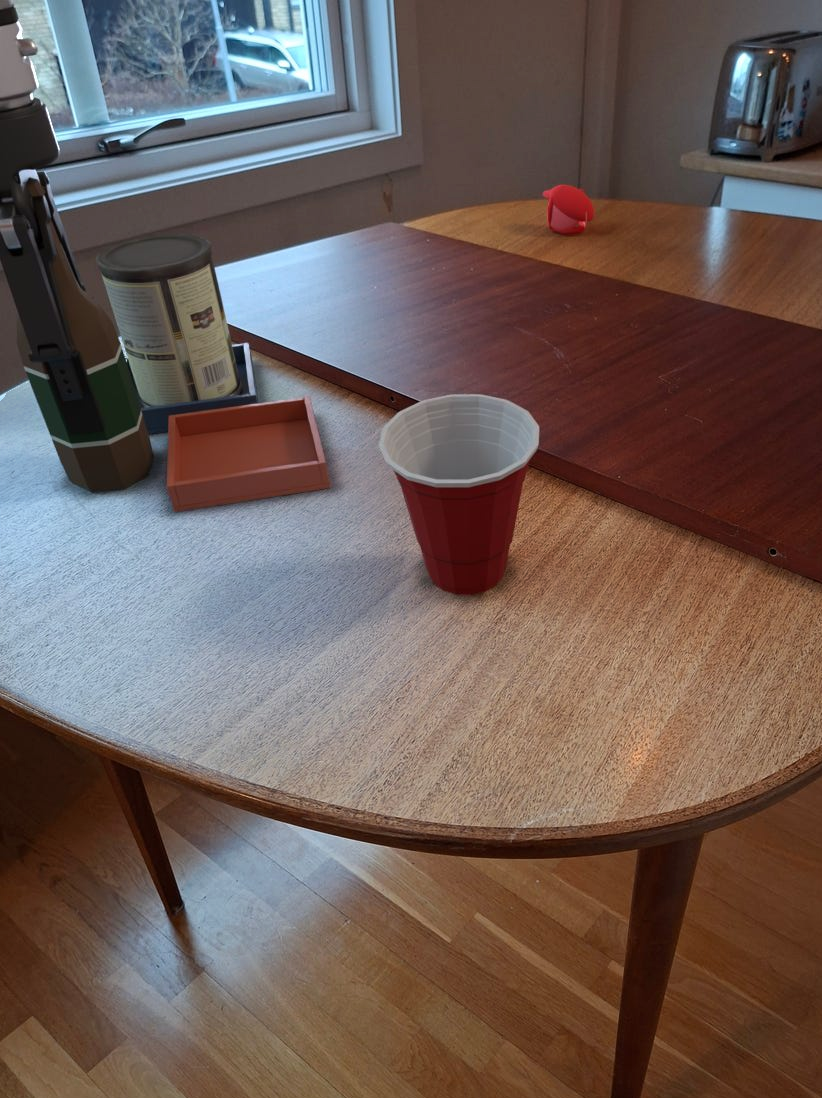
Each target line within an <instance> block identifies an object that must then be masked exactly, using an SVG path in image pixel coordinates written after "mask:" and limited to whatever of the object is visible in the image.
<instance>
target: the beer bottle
mask: <svg viewBox="0 0 822 1098" xmlns="http://www.w3.org/2000/svg"><path fill="white" fill-rule="evenodd" d="M28 189H29V192H30V194H32V196H42V195H44V194H45V190H44V189H43V187H42V185H41V184H40V182H39V181H38V180H37V179H34V178H30V180H29V181H28ZM50 229H51V233H52V236H53V240H54V244H55V248H56V252H57V259H56V260H55V261H54V262H53V268H54V272H55V275H56V279H57V283H58V287H59V291H60V294H61V298H62V302H63V306H64V310H65V313H66V317H67V321H68V325H69V329H70V332H71V336H72V340H73V344H74V346H75V347H76V351H80V353H81V356H82V359H83V362H84V365H85V368H86V371H87V374H88V377H89V380H90V383H91V386H92V389H93V392H94V395H95V397H96V400H97V403H98V406H99V409H100V412H101V415H102V418H103V421H104V424H105V431H101V432H94V433H86V434H79V435H72V436H71V435H70V433H69V430H68V427H67V425H66V422H65V419H64V417H63V414H62V411H61V409H60V406H59V403H58V400H57V398H56V395H55V392H54V390H53V387H52V384H51V382H50V379H49V376H48V374H47V371H46V368H45V366H44V363H43V362H39V363H32V362H31V361H30V359H29V357H28V355H30V354H31V349H30V346H29V343H28V340H27V337H26V334H25V331H24V329H23V326H22V323H21V320H20V317H19V315H18V316H17V320H16V347H17V349H18V350H17V351H18V353H19V356H20V359H21V363H22V366H23V369H24V371H25V374H26V376H27V379H28V382H29V384H30V387H31V389H32V391H33V394H34V397H35V400H36V402H37V404H38V407H39V410H40V413H41V415H42V417H43V420H44V423H45V425H46V429H47V430H48V433H49V435H50V438H51V441H52V444H53V446H54V449H55V451H56V454H57V457H58V459H59V462H60V464H61V466H62V469H63V471H64V473H65V475H66V477H67V479H68V481H69V482H70V483H71V484H73V485H75V486H77V487H79V488H81V489H83V490H86V491H88V492H90V493H100V492H107V491H109V492H110V491H118V490H126V489H127V488H129V487H131V486H132V485H134V484H136V483H138V482H140V481H142V480H144V479H146V478H148V477H150V475H151V470H152V465H153V461H154V457H155V455H154V450H153V447H152V442H151V438H150V434H148V431H147V428H146V425H145V421H144V418H143V415H142V412H141V408H140V405H139V402H138V399H137V395H136V392H135V389H134V385H133V382H132V379H131V376H130V372H129V369H128V366H127V363H126V359H125V358H126V356H125V353H124V350H123V349H124V348H123V347H122V344H121V340H120V337H119V336H118V333H117V330H116V328H115V325H114V322H113V321H112V320H111V318H110V316H109V315H108V314H107V313H106V311H105V310H104V308H103V307H102V305H100V303H98V301H96V300H95V299H94V297H93V298H92V297H91V296H90V295H89V294H88V293H87V291H86V292H85V291H83V290H82V289H81V288H80V286H79V284H78V282H77V280H76V278H75V277H74V275H73V273H72V271H71V269H70V266H69V264H68V261H67V259H66V256H65V254H64V251H63V249H62V246H61V244H60V241H59V238H58V236H57V233H56V231H55V228H54V226H53V223H52V221H50ZM41 249H43V248H38V250H41ZM51 344H52V343H51Z"/></svg>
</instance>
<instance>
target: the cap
mask: <svg viewBox="0 0 822 1098" xmlns="http://www.w3.org/2000/svg"><path fill="white" fill-rule="evenodd" d="M542 196H543V197H544V198H546V199H548V203H547V207H546V208H547V209H546V210H547V211H546V221H547V228H548V229H549V230H550V231H551V232H552V233H555V232H556V233H560V234H564V235H576V234H582V233H584V232H585V231H586V229H587V226H588V223H589V222H592V221H593V219H594V217H595V208H594V205H593V203H592V201H591V199H590V198H589V197H588V195H587V194H586V193H585V191H584V189H582V188H577V187H575V186H572V185H569V184H558V185H556V186H553V187H552V188H551V189H547V190H544V191H543V192H542ZM577 225H578V226H577Z"/></svg>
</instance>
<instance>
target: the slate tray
mask: <svg viewBox="0 0 822 1098" xmlns="http://www.w3.org/2000/svg"><path fill="white" fill-rule="evenodd" d="M232 347H233V351H234V356H235V360H236V365H237V369H238V374H239V378H240V381H241V384H242V390H241V392H240V395H235V396H228V397H220V398H213V399H205V400H198V401H191V402H183V403H176V404H168V405H161V406H154V407H146V408H143V406H142V405H141V402H140V396H139V392H138V389H137V386H136V383H135V380H134V376H133V373H132V370H131V367H130V364H129V360H128V357H125V359H126V363H127V366H128V369H129V372H130V376H131V379H132V382H133V385H134V389H135V392H136V395H137V399H138V402H139V405H140V408H141V412H142V415H143V418H144V421H145V425H146V428H147V431H148V435H153V434H161V433H168V422H169V416H170V415H177V414H184V413H192V412H199V411H206V410H213V409H221V408H228V407H235V406H243V405H250V404H257V403H260V402H259V396H258V395H259V394H258V389H257V388H258V387H257V382H256V375H255V367H254V362H253V358H252V353H251V347H250V343H249V342H244V343H236V344H232Z"/></svg>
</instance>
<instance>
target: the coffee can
mask: <svg viewBox="0 0 822 1098" xmlns="http://www.w3.org/2000/svg"><path fill="white" fill-rule="evenodd" d="M213 253H214V252H213V247H212V243H211V242H210V241H209V240H208V239H205V238H203V237H200V236H197V235H192V234H185V233H165V234H164V233H162V234H152V235H146V236H145V235H144V236H139V237H135V238H130V239H127V240H124V241H123V240H122V241H120V242H117V243H114V244H113V245H109V246H108V247H106V248H104V249H103V250H102V251H100V252H99V253H98V254H97V255H96V257H95V263H96V266H97V269H98V270H99V271H100V274H101V277H102V280H103V283H104V287H105V289H106V293H107V296H108V299H109V302H110V306H111V309H112V312H113V316H114V319H115V322H116V325H117V328H118V331H119V334H120V338H121V340H122V341H121V342H122V345H123V349H124V351H125V354H126V358H128V360H129V364H130V367H131V370H132V373H133V376H134V380H135V383H136V386H137V389H138V392H139V396H140V402H141V405H142V406H143V408H146V407H154V406H161V405H168V404H176V403H183V402H191V401H198V400H205V399H213V398H220V397H228V396H235V395H240V392H241V390H242V384H241V381H240V378H239V374H238V369H237V365H236V360H235V356H234V351H233V347H232V345H233V344H232V343H233V342H232V338H231V334H230V330H229V326H228V321H227V316H226V313H225V309H224V303H223V298H222V294H221V290H220V285H219V281H218V277H217V271H216V269H215V264H214V263H215V262H214V259H213Z"/></svg>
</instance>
